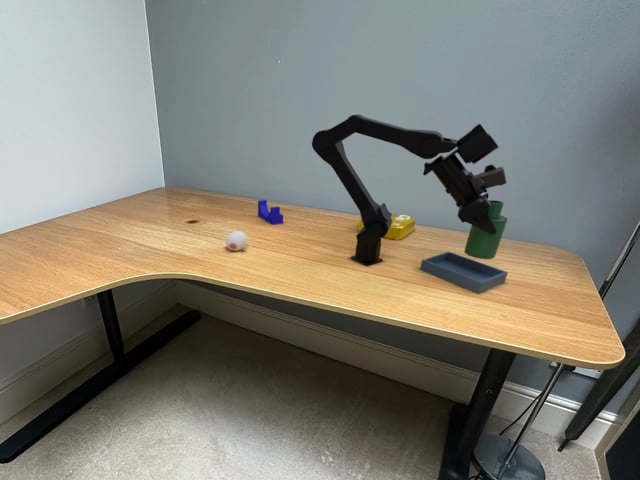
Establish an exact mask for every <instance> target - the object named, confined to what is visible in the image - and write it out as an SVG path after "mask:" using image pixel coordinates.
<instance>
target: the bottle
mask: <svg viewBox="0 0 640 480" xmlns="http://www.w3.org/2000/svg"><path fill="white" fill-rule="evenodd" d="M488 201H489V202H490V204H491V208H490V210H489V213H488V214H489V216H490V218H491V220H492V222H493V225H494V227H495V229H496V231H497V233H495V234H494V235H491V234H489V233H487V232H485V231H483V230H482V229H480V228H478V227H476V226H474V225H470V229H469V234H468V236H467V240H466V243H465V246H464V251H463V252H464V254H466V255H467V256H469V257H472V258H475V259H480V260H493V259H494V258H495V257H496V255H497V253H498V249H499V247H500V243H501V241H502V237H503V235H504V232H505V228H506V225H507V223H508V217H506V216H504V215H502V214H501V213H502V210H503V207H504V204H505V202H503V201H500V200H495V199H488Z"/></svg>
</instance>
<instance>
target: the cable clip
mask: <svg viewBox="0 0 640 480" xmlns="http://www.w3.org/2000/svg"><path fill="white" fill-rule="evenodd" d="M257 217H258V218H260V219H262V220H264V221H265V222H267V223H269V224H270V225H273V226H274V225H281V224H284V214H282V213H281V207H280V206H271V207H270V210H269V208H268V201H267V200H266V199H260V200H257Z"/></svg>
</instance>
